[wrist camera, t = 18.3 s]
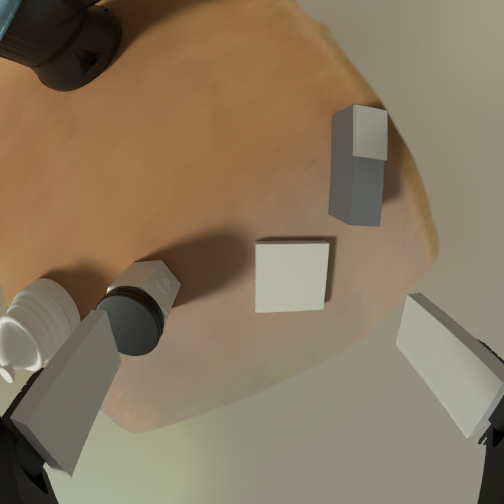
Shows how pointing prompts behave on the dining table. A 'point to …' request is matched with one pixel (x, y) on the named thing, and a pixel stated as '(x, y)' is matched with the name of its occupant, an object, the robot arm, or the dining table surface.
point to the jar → (140, 306)
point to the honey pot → (36, 326)
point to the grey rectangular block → (358, 164)
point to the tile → (290, 275)
